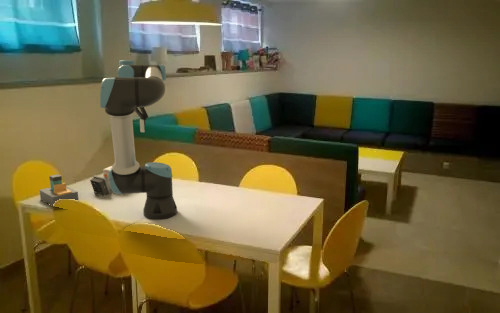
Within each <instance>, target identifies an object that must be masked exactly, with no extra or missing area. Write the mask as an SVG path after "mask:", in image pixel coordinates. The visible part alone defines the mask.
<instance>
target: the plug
mask: <svg viewBox="0 0 500 313" xmlns="http://www.w3.org/2000/svg"><path fill="white" fill-rule="evenodd" d="M49 183H50V184H49V185H50V188H51V191H52V192H53V191H54V185H57V184H62V183H63V178H62V175H60V174H59V173H58V174H51V175H49Z"/></svg>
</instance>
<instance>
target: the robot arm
mask: <svg viewBox="0 0 500 313" xmlns="http://www.w3.org/2000/svg"><path fill="white" fill-rule="evenodd" d="M118 63H119V64H118V69H117V77H116V76H113V77H105V78H103V79H102V81H101V84H100V93H99V94H100V96H99V105H100V106H99V107H100V109H101V108H102V109H104V111H105V114H106V115H107V116H109V119H110V120H109V122H110V128H111V138H112V149H113V157H114V163H113V164H112V165H111V166H112V168H111V169H110V170H109V179H110V185H111V189H112V192H113V193H114V194H116V195H128V194H145V193H146V199H145V203H144V207H143V212H142V213H143V216H144V217H145V218H147V219H150V220H151V219H152V220H164V219H169V218H172V217H174V216H176V215H177V213H178V207H177V204H176V201H175V199H174V193H173V172H172V168H171V165H169V164H167V163H163V162H156V161H155V162H154V161H152V162H146V163H145V164H144V166H140V162H138V161H137V160H136V148H135V134H134V124H133V114H135V113H136V115H137V116H138V117H139V130H140V133H145V126H146V120H147V119H149V115H148V113H147V111H146V109H145V107H150V106H152V105H155V104H156V103H157V102H159V101H160V100H161V99H162V98H163V97H164V95H165V93H166V84H165V83H164V81H166V79H167V77H166V76H167V75H166V74H167V73H166V66H165V65H163V64H135V63H136V62H135V60H132V59H127V60H126V59H120V60H119V62H118Z"/></svg>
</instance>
